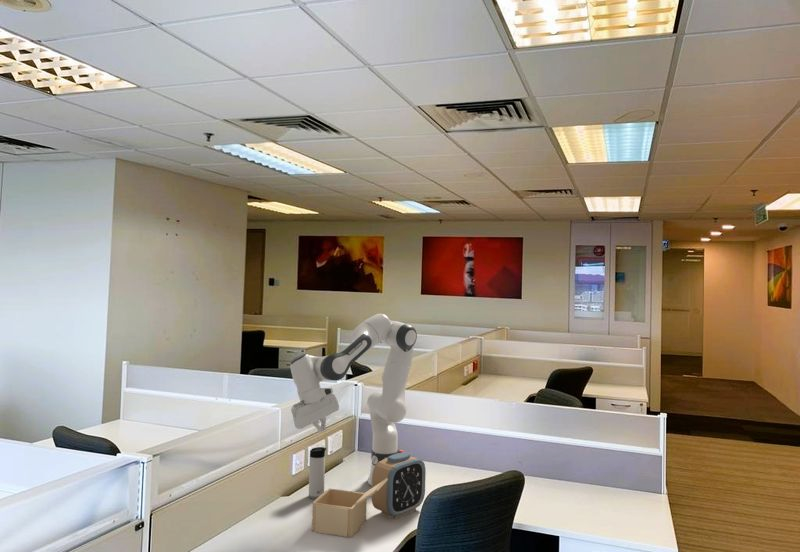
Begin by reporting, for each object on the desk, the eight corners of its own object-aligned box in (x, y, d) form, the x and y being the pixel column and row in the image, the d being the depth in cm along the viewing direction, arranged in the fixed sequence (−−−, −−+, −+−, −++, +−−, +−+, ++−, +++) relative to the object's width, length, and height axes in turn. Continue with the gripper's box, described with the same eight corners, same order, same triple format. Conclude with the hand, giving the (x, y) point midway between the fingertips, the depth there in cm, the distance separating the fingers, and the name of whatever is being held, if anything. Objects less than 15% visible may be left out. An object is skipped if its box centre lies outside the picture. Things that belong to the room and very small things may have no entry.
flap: (354, 504, 198) (376, 489, 196) (365, 492, 209) (386, 478, 207) (355, 505, 198) (377, 491, 195) (366, 493, 209) (387, 479, 207)
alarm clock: (389, 523, 209) (390, 464, 209) (371, 515, 215) (372, 458, 215) (425, 508, 224) (426, 453, 224) (407, 501, 230) (408, 447, 230)
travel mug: (321, 500, 229) (323, 450, 229) (306, 498, 230) (307, 449, 230) (326, 494, 235) (328, 446, 235) (311, 492, 236) (313, 444, 237)
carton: (327, 514, 216) (328, 487, 216) (366, 519, 211) (367, 492, 211) (309, 531, 200) (310, 503, 200) (351, 538, 196) (351, 509, 196)
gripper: (295, 405, 208) (306, 441, 208) (335, 386, 223) (346, 420, 223) (285, 407, 212) (296, 442, 212) (325, 388, 228) (336, 421, 227)
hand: (322, 431), depth 217 cm, fingers closed
